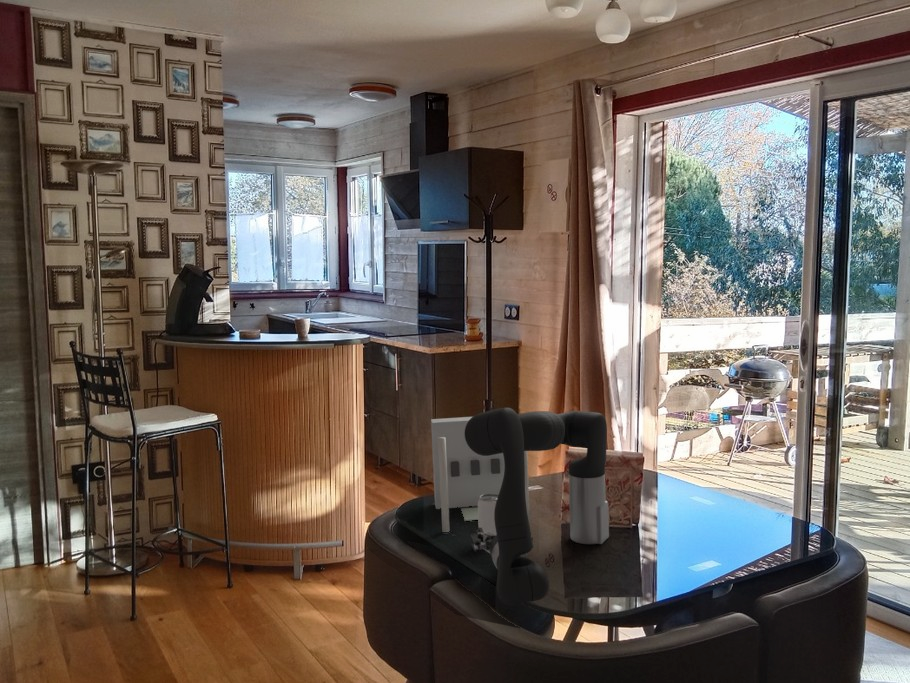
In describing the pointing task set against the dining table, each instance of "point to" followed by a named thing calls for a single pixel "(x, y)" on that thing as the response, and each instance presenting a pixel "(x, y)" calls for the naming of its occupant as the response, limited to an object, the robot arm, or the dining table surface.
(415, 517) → the dining table surface
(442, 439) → the cord posts
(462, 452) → the breaker panel
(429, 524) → the dining table surface
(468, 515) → the pad
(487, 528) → the can
